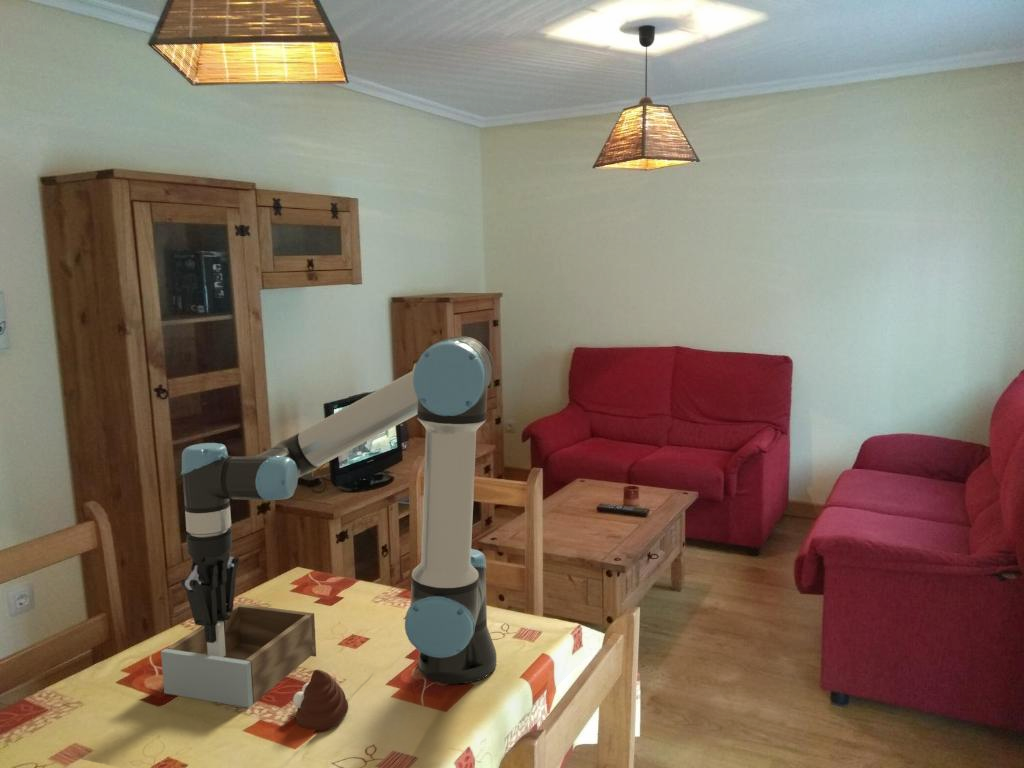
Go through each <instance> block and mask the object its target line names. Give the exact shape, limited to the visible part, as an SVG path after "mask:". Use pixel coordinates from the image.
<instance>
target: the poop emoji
mask: <svg viewBox="0 0 1024 768" xmlns="http://www.w3.org/2000/svg"><path fill="white" fill-rule="evenodd" d="M292 703H293V706H294V707H296V708H297V710H296V712H295V713H296V714H295V720H296V721H295V722H296V724H297V725H298V726H299V727H301V728H303V729H305V730H306V729H307V730H314V731H313V734H315V733H324V732H327V731H330V730H331V729H333V728H335V727H336V726H337V725H338V724H339V723H341V721H342V719H343V717H345V716H346V715H347V713H348V711H349V702H348V700H347V698H346V694H345V692H344V689H343V688H342V687H341V686H340V684H338V682H337V681H336V680H335V679H334V678H333V677H332V676H331V675H330V674H329V673H328V672H326V671H324V670H321V669H315V670H313V672H312V675H311V677H310V680H309V682H306V683H305V684H303V686H302V687H301V691H297V692H295V694H294V695H293V697H292Z"/></svg>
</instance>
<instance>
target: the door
mask: <svg viewBox="0 0 1024 768" xmlns="http://www.w3.org/2000/svg"><path fill="white" fill-rule="evenodd" d="M160 657H161V669H162V670H161V671H162V681H163V682H162V683H163V694H166V695H172V696H178V697H184V698H189V699H196V700H200V701H201V700H202V701H208V702H213V703H219V704H225V705H231V706H238V707H241V708H242V707H243V708H251V707H252V706H253V705H254V704H253V694H252V678H251V662H250V661H245V660H239V659H232V658H225V657H219V656H212V655H205V654H199V653H192V652H185V651H179V650H172V649H167V648H165V649H162V650H161V651H160Z"/></svg>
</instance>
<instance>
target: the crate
mask: <svg viewBox="0 0 1024 768" xmlns="http://www.w3.org/2000/svg"><path fill="white" fill-rule="evenodd" d="M227 615H230V619H229V620H225V631H226V632H225V651H226V655H225V656H224V657H225V658H232V659H239V660H245V661H250V662H251V678H252V694H253V705H254V704H255V703H257V702H258V701H259V700H260V699H261V698H263V697H264V696H265V695H266V694H267V693H269V692H270V691H271V690H272V689H273V688H275V687H276V686H277V685H278V684H279V683H281V682H282V681H283V680H284V679H285V678H287V677H288V676H289V675H290V674H291V673H292V672H294V670H296V669H297V668H299V666H300V665H302V664H303V663H304V662H306V660H307V659H309V658H311V657H315V658H316V657H317V645H316V644H317V643H316V641H317V639H316V625H315V624H316V622H315V621H316V620H315V613H314V612H306V611H301V610H300V611H299V610H293V609H282V608H275V607H267V606H258V605H251V604H242V603H236V604H235V605H233V610H232V612H228V614H227ZM166 649H172V650H179V651H185V652H192V653H199V654H205V655H208V650H207V642H206V640H205V627H204V626H201V625H200V627H198V628H196V629H194V630H192V632H189V633H188V634H186V635H185V636H184V637H182V638H180V639H178V640H177V641H175V642H174V643H173V644H171V645H169V646H167V647H166Z"/></svg>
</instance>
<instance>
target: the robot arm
mask: <svg viewBox="0 0 1024 768" xmlns="http://www.w3.org/2000/svg"><path fill="white" fill-rule="evenodd" d="M494 368H495V367H494V361H493V357H492V355H491V353H490V351H489V350H488V349H487V347H486V346H485V345H483V343H482V342H480V341H478V340H477V339H475V338H473V337H469V336H465V335H464V336H463V335H462V336H461V335H458V336H454V337H453V336H452V337H449V338H447V339H444V340H441V341H438V342H437V343H434V344H432V345H430V346H429V347H428V348H427V349H426V350H425V351H424V352H423V353H422V354H421V355H420V357H419V359H418V360H417V362H415V363H414V364H413V369H412V371H409V372H408V373H406V374H404V375H403V376H400V377H399V378H397V379H395V380H393V381H392V382H389V383H387V384H386V385H383V387H380V388H378V389H377V390H375V391H373V392H371V393H369V394H368V395H366V396H363V397H362V398H360V399H358V400H356V401H354V402H353V403H351V404H349V405H347V406H345V407H344V408H342V409H339V410H338V411H336V412H335V413H332V414H331V415H329V416H327V417H326V418H323V419H322V420H320V421H318V422H316V423H314V424H312V425H311V426H309V427H307V428H306V429H304V430H302V431H300V432H298V433H296V434H294V435H292V436H290V437H288V438H286V439H284V440H282V441H280V442H278V443H276V445H274V446H272V447H270V448H269V449H267V450H265V451H263V452H261V453H259V454H257V455H256V456H255V455H254V456H252V455H251V456H234V455H233V456H232V455H229V454H228V450H227V447H226V445H225V444H223V443H217V442H205V443H196V444H192V445H189V446H187V447H185V448H184V449H183V451H182V452H181V472H180V475H181V476H182V486H183V487H182V488H183V495H184V496H183V499H184V514H185V515H184V517H185V528H186V529H185V530H186V531H185V532H187V534H186V536H185V537H186V550H187V554H188V555H189V557H190V558H191V560H192V562H191V566H190V571H191V573H190V575H189V576H188V577H187V578H183V579H182V580H181V583H180V584H181V586H182V587H183V589H184V591H186V596H187V599H188V602H189V607H190V610H191V613H192V617H193V621H194V624H195V625H196V626H200V627H201V626H204V627H205V640H206V642H207V650H208V655H212V656H219V657H224V656H225V655H226V651H225V632H226V631H225V620H229V619H230V615H227V614H228V612H232V610H233V606H234V601H235V591H236V579H237V570H238V566H239V563H240V558H239V557H235V556H231V553H230V551H231V550H232V549H233V535H232V530H231V527H232V517H231V505H230V504H231V503H230V502H231V501H230V500H249V501H250V500H255V501H257V500H259V501H269V502H274V501H275V500H276V501H277V500H287V499H290V498H291V497H293V496H294V493H295V491H296V489H297V486H298V481H299V479H300V478H301V477H303V476H304V475H307V474H309V473H311V472H312V471H313V470H316V469H317V468H319V467H321V466H322V465H325V464H326V463H328V462H330V461H332V460H334V459H336V458H338V457H339V456H341V455H344V454H345V453H347V452H349V451H351V450H353V449H354V448H355V449H356V448H357V447H358V446H360V445H363V444H364V443H366V442H368V441H370V440H372V439H374V438H375V437H377V436H379V435H381V434H384V433H385V432H388V431H389V430H391V429H393V428H394V427H396V426H398V425H400V424H402V423H403V422H406V421H407V420H410V419H411V418H414V417H415V416H416V417H417V421H419V422H420V424H422V425H423V427H424V428H425V442H424V443H425V444H424V446H425V447H424V471H423V473H424V474H423V501H422V502H423V503H422V523H421V524H422V527H421V529H422V531H421V553H420V554H421V556H420V557H421V558H420V563H419V564H417V566H416V567H414V568H413V570H412V571H411V588H410V589H411V591H410V605H409V606H408V607H409V608H408V609H407V610H406V611H407V612H406V613H405V618H404V620H405V621H404V630H405V631H404V632H405V634H406V637H407V639H408V641H409V643H411V645H412V646H413V647H414V648H415V649H417V651H418V652H419V655H418V669H419V670H418V671H419V672H420V673H421V675H422V676H423V677H425V678H426V679H427V680H430V681H432V682H436V683H440V684H445V683H448V684H447V685H458V684H457V683H463V684H466V683H465V682H470V683H472V682H471V681H474V682H476V681H475V680H477V681H479V680H478V679H480V680H482V679H484V678H483V677H485V676H486V675H488V674H490V673H491V672H492V671H493V670H494V669H496V668H497V664H496V663H498V662H497V650H496V648H495V645H494V642H493V639H492V636H491V632H489V628H488V620H487V575H486V574H487V573H486V572H487V570H486V569H488V566H487V563H486V556H485V553H483V552H482V551H480V550H478V549H474V548H472V538H473V537H472V535H473V534H472V533H473V515H474V513H473V512H474V495H475V494H474V492H475V474H476V473H475V471H476V467H475V466H476V447H477V446H476V445H477V431H478V430H479V428H480V427H481V426H483V424H485V423H486V421H487V404H488V403H487V401H488V387H490V385H491V384H490V383H491V381H492V379H493V376H494ZM495 667H496V668H495ZM494 671H495V670H494ZM494 671H493V672H494ZM493 672H492V673H493ZM492 673H491V674H492ZM491 674H490V675H491ZM488 676H489V675H488ZM486 677H487V676H486ZM486 677H485V678H486ZM481 678H482V679H481Z"/></svg>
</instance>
